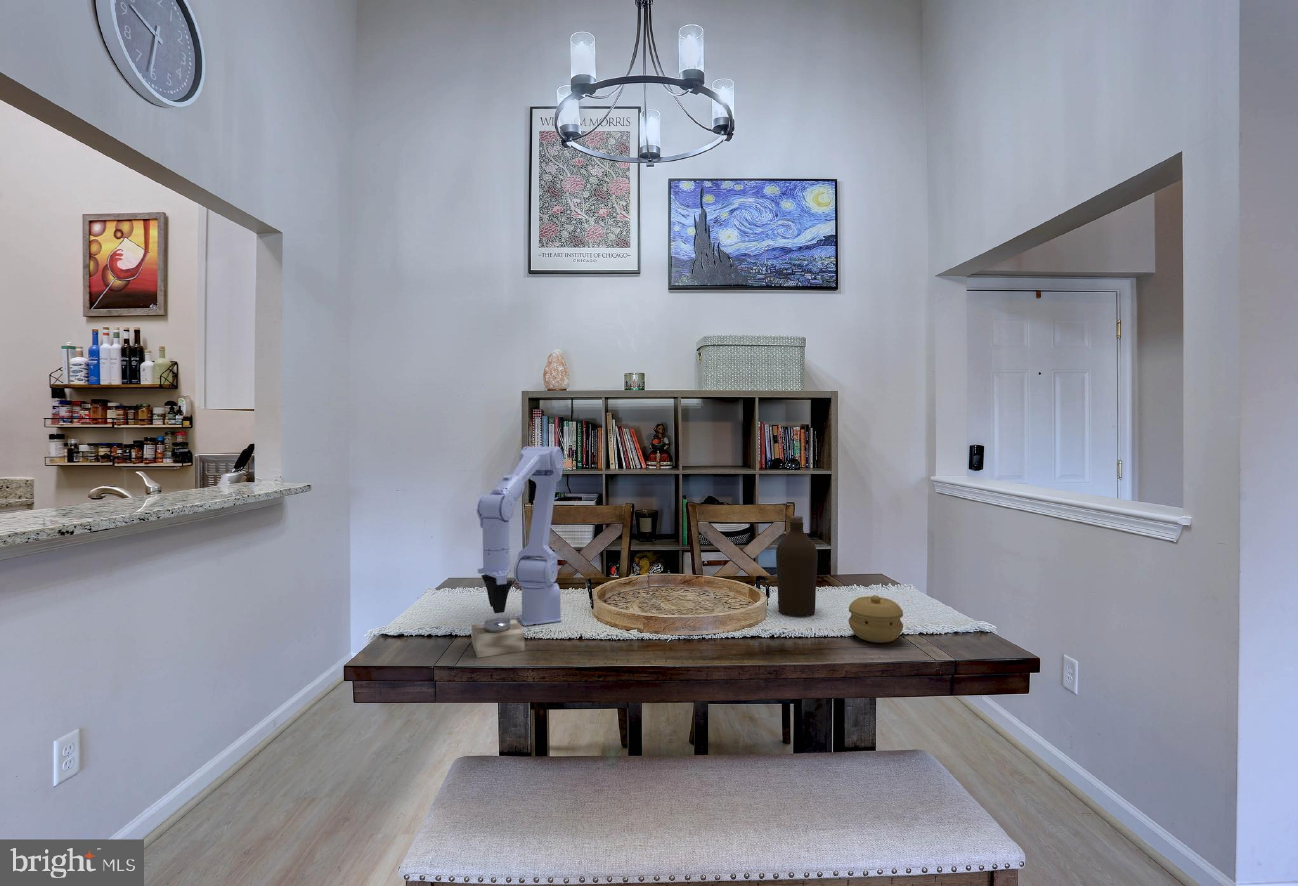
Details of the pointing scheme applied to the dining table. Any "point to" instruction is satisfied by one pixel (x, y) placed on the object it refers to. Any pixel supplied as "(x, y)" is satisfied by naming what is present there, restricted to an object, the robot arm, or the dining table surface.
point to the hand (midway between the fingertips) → (497, 609)
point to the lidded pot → (875, 619)
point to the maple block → (497, 640)
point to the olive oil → (796, 572)
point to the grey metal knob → (497, 625)
